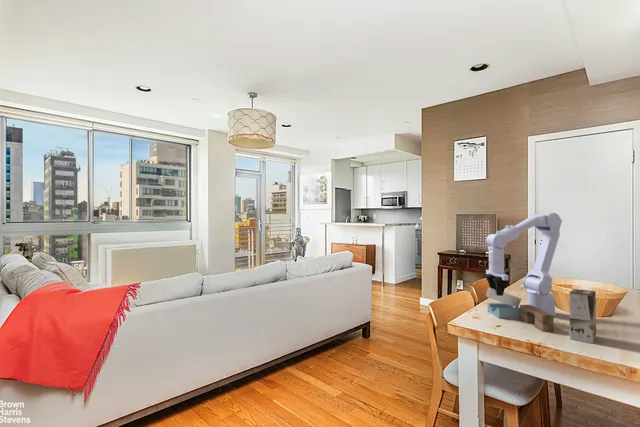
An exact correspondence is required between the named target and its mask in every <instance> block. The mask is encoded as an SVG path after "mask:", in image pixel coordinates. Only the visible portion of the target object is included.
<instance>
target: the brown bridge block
mask: <svg viewBox="0 0 640 427" xmlns="http://www.w3.org/2000/svg"><path fill="white" fill-rule="evenodd" d="M519 307H520V318H519V320H521V321H522V322H524V323H526V324H534V328H535V329H537V330H539V331H541V332H543V331H550V332H551V331H554V332H555V327H554V326H555V322H554V318H555V317H554V315H552V314H550V313H547V312H545V311H543V310H541V309H538V308H536V307H534V306H532V305H528V304H519Z"/></svg>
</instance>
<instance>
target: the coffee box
mask: <svg viewBox="0 0 640 427" xmlns="http://www.w3.org/2000/svg"><path fill="white" fill-rule="evenodd" d="M596 299H597V296H596V291H595V290H588V289H577V288H572V290H571V291H569V339H570V340H573V341H580V342H583V343H584V342H585V343H589V344H594V341H595V339H596V338H597V307H596V305H597V304H596V302H597V301H596Z"/></svg>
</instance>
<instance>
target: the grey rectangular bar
mask: <svg viewBox="0 0 640 427" xmlns="http://www.w3.org/2000/svg"><path fill="white" fill-rule="evenodd" d="M485 296H486V297H487V298H488V299H491V300H494V301H497V302H499V303H500V302H503V303H505V304H508V305H511V306H513V307H517V308H518V307H520V305H521V302H522V301H521V300H522V298H520V297H519V296H515V295H513V294H510V293H508V292H505V291H504V293H503V296H498V295H497V292H496V289H493V288H490V286H488V288H487V290H486V293H485Z"/></svg>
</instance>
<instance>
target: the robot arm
mask: <svg viewBox="0 0 640 427" xmlns="http://www.w3.org/2000/svg"><path fill="white" fill-rule="evenodd" d="M562 222H563V220H562V218H561V217H560V215H559V214H558V213H556V212H541V213H540V212H535V213H533V214H531V215H529V216H528V217H527V218H526V219H524V220H523V221H521V222H519V223H518V224H515V225H505V226H504V228H503V229H501V230H497V231H496V232H495V233H491V234H488V235H487V237H486V239H485V241H484V242H485V244H486V246H487V250H488V269H485V274H486V275H485V279H486V281H487V283H488V285H489V286H488V287H490V288H493V289H496V292H497V295H498V296H503V293H504V292H505V289H506V287H507V284H508V283H509V281H510V279H509V275H508V274H506V273H505V252H504V251H505V247H506V246H507V245H508V243H509V242H511V241H513V240H516V239H517V238H519V236H520V233H522V232H525V231H526V230H527V231H528V230H529V229H531V228H533V227H534V228H536V229H537V230H538V231H539V232H540V233H541V234H542V235H543V236H542V240H541V243H540V246H539V249H538V253H537V256H536V259H535V262H534V267H533V268H532V269H531V270H529V271H528V272H527V274H526V275H525V277H524V278H523V281H522V285H523V287H524V289H526V290H525V291H526V292H527V295H526V296H527V300H526V301H527V305H532V306H534V307H536V308H538V309H541V310H543V311H545V312H547V313H550V314H552V315H554V316H557V314H556V304H555V303H556V302H555V297H554V294H552V293H550V292H551V291H552V288H553V286H552V285H553V284H552V281H553V278H552V276H551V275H550V274H549V271H550V268H551V266H552V261H553V259H554V257H555V256H554V255H555V253H556V249H557V245H558V243H559V242H558V241H559V238H560V235H561V233H560V231H561V230H560V229H561V225H562Z"/></svg>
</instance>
